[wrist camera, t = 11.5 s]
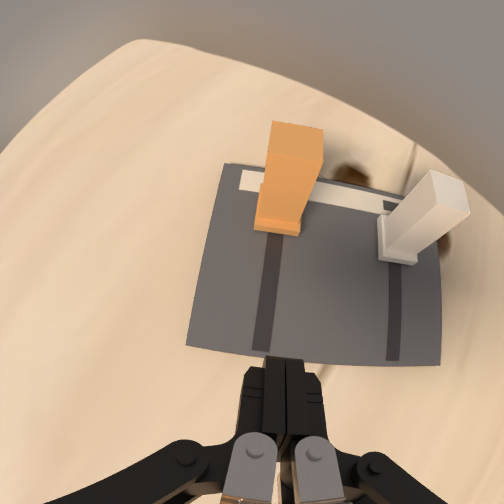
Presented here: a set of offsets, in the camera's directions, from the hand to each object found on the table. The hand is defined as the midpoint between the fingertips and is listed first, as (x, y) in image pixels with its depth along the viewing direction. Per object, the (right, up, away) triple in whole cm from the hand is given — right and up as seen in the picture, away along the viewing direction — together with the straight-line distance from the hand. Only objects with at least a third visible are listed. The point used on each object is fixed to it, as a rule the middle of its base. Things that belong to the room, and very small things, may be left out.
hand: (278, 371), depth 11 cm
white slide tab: (+13, +6, +15) cm, 21 cm away
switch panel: (+7, +3, +15) cm, 17 cm away
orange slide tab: (+1, +8, +16) cm, 18 cm away
